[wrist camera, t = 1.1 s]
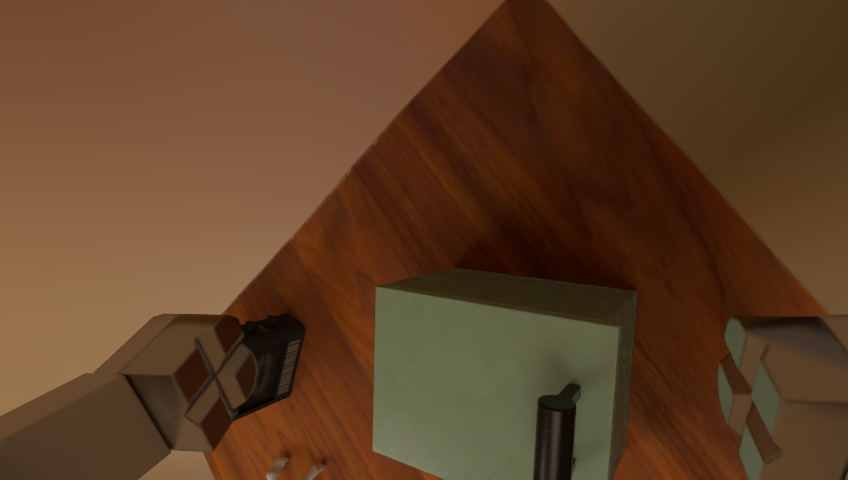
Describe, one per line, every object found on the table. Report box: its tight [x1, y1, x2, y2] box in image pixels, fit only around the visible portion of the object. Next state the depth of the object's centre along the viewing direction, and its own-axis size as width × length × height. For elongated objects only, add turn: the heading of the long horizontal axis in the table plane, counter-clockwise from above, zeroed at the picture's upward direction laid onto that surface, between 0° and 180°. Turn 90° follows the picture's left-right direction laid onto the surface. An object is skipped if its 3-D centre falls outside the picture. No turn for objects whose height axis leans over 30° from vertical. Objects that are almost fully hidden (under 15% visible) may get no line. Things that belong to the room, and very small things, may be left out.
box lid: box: [372, 285, 622, 480], centre depth 28 cm, size 15×12×5 cm
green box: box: [384, 267, 638, 480], centre depth 34 cm, size 15×12×10 cm
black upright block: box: [233, 314, 305, 421], centre depth 47 cm, size 10×4×15 cm, turn 162°
